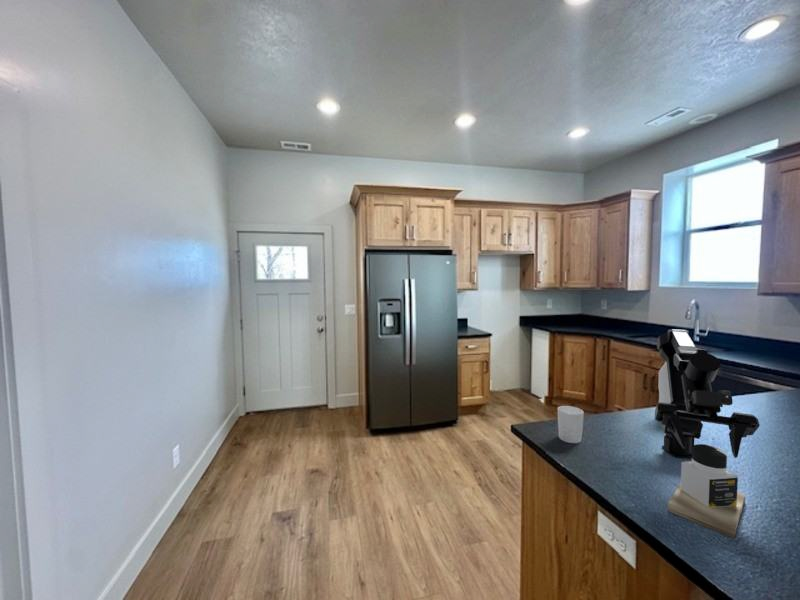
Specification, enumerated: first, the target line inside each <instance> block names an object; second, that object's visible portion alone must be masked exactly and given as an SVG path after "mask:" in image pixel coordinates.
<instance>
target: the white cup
mask: <svg viewBox="0 0 800 600" xmlns="http://www.w3.org/2000/svg"><path fill="white" fill-rule="evenodd" d="M584 416H585V415H584V410H583V409H581V408H579V407H576V406H571V405H561V406H558V407H557V428H558V438H559V439H560V440H561V441H563V442H564V443H565V442H566V443H568V444H579V443H581V442H582V435H583V426H584Z"/></svg>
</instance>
